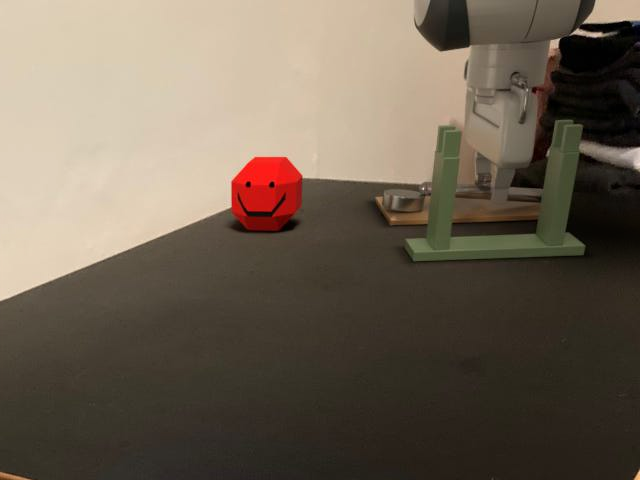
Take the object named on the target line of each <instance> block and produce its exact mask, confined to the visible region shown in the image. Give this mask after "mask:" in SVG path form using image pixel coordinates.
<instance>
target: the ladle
mask: <svg viewBox="0 0 640 480" xmlns="http://www.w3.org/2000/svg"><path fill="white" fill-rule="evenodd" d="M431 186H432V181H423V182H422V183H421V184H420V185H419V187H418V191H416V190H409V189H403V188H400V189H399V188H392V189H391V188H390V189H386V190H384V191H383V194H382V197H383V200H382V206H383V207H385V208H388V209H392V210H397V211H409V212H413V211H421V210H423V207H424V202H425V196H431ZM491 187H493V185H491V186H486V185H474V184H468V183H457V186H456V194H455V198H468V199H484V200H490V191H491ZM542 193H543V188H531V187H516V186H515V187H514V186H510V187H509V191H508V198H507V201H514V202H530V203H541V199H542Z"/></svg>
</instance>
